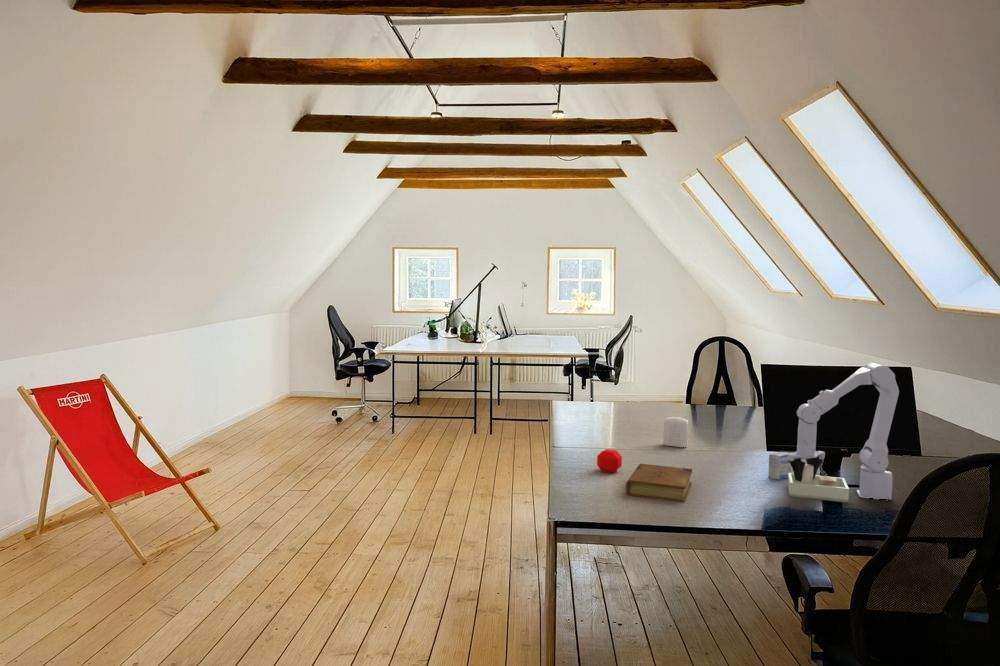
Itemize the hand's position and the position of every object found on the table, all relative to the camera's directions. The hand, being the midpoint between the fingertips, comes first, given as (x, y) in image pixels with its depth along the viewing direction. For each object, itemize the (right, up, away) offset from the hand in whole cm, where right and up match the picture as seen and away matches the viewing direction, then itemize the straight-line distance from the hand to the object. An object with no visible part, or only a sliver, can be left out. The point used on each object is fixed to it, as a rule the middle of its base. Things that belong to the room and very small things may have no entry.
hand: (804, 480), depth 247 cm
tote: (+4, -4, -1) cm, 6 cm away
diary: (-48, -4, +1) cm, 49 cm away
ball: (-62, -1, +22) cm, 66 cm away
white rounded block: (-28, +1, +64) cm, 70 cm away
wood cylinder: (0, -2, 0) cm, 2 cm away
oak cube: (+6, -4, -3) cm, 8 cm away
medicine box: (-1, -3, +19) cm, 19 cm away
